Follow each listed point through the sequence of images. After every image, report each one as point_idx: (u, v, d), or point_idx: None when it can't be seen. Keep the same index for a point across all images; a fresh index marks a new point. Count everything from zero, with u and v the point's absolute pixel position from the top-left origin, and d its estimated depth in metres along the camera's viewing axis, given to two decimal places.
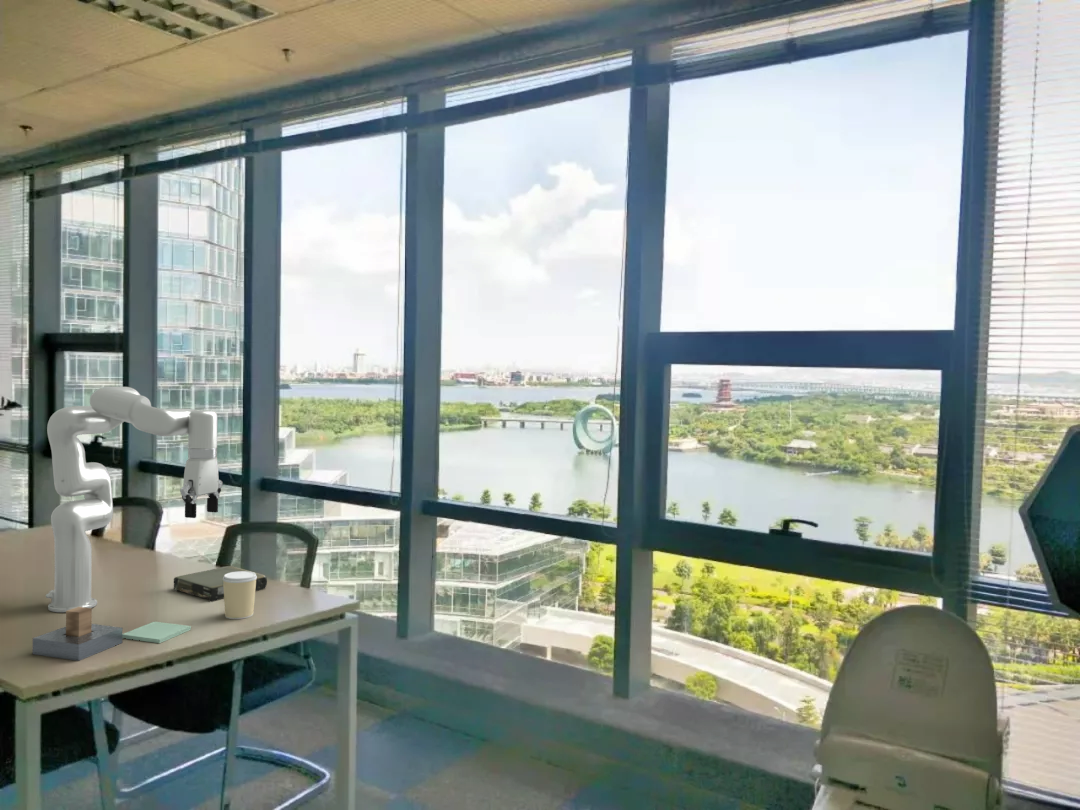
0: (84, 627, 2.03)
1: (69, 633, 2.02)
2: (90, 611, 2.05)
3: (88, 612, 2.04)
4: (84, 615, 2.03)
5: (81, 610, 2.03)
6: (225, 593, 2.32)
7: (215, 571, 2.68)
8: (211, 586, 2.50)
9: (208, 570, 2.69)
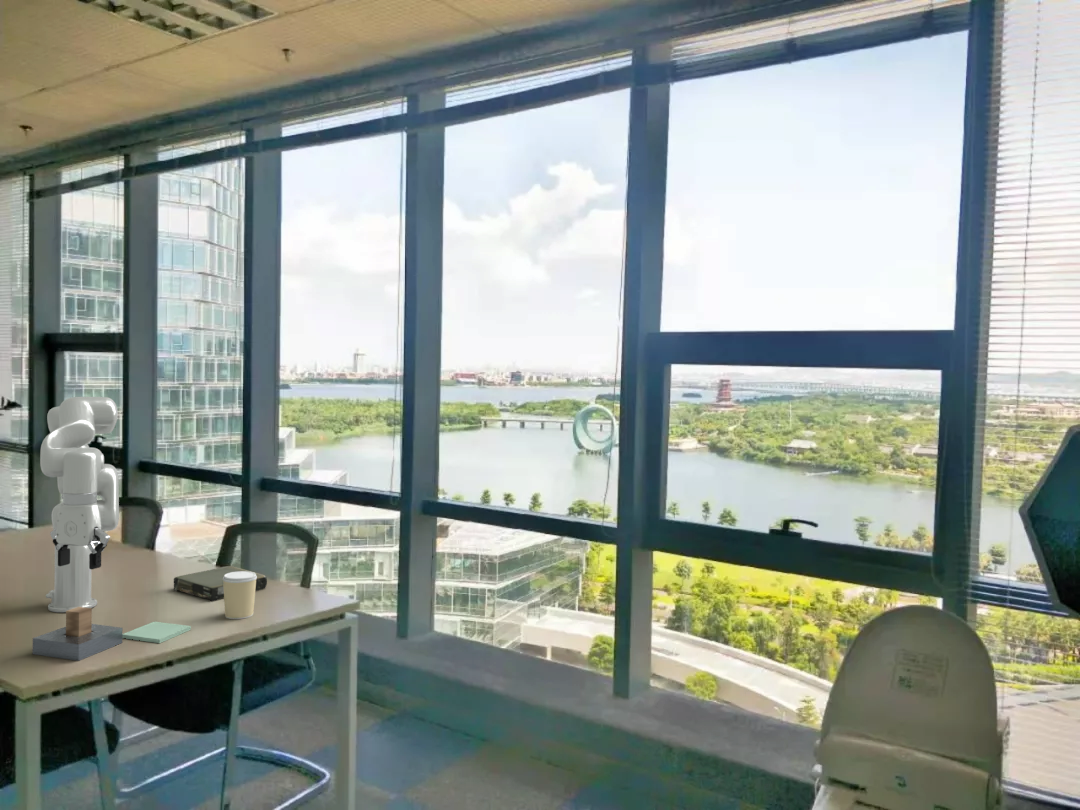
0: (84, 627, 2.03)
1: (69, 633, 2.02)
2: (90, 611, 2.05)
3: (88, 612, 2.04)
4: (84, 615, 2.03)
5: (81, 610, 2.03)
6: (225, 593, 2.32)
7: (215, 571, 2.68)
8: (211, 586, 2.50)
9: (208, 570, 2.69)
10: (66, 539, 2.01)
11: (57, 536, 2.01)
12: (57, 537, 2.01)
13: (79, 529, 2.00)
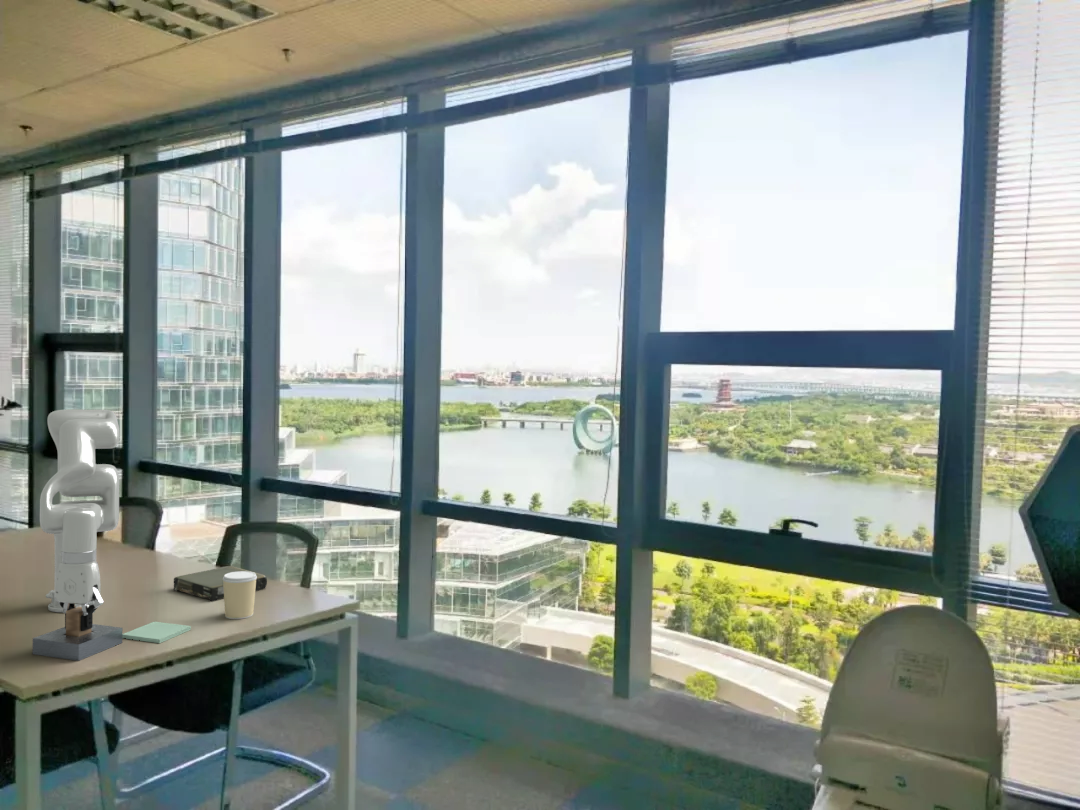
0: None
1: (69, 633, 2.02)
2: None
3: None
4: None
5: (81, 610, 2.03)
6: (225, 593, 2.32)
7: (215, 571, 2.68)
8: (211, 586, 2.50)
9: (208, 570, 2.69)
10: (65, 597, 2.01)
11: (56, 594, 2.02)
12: (56, 595, 2.02)
13: (78, 588, 2.00)
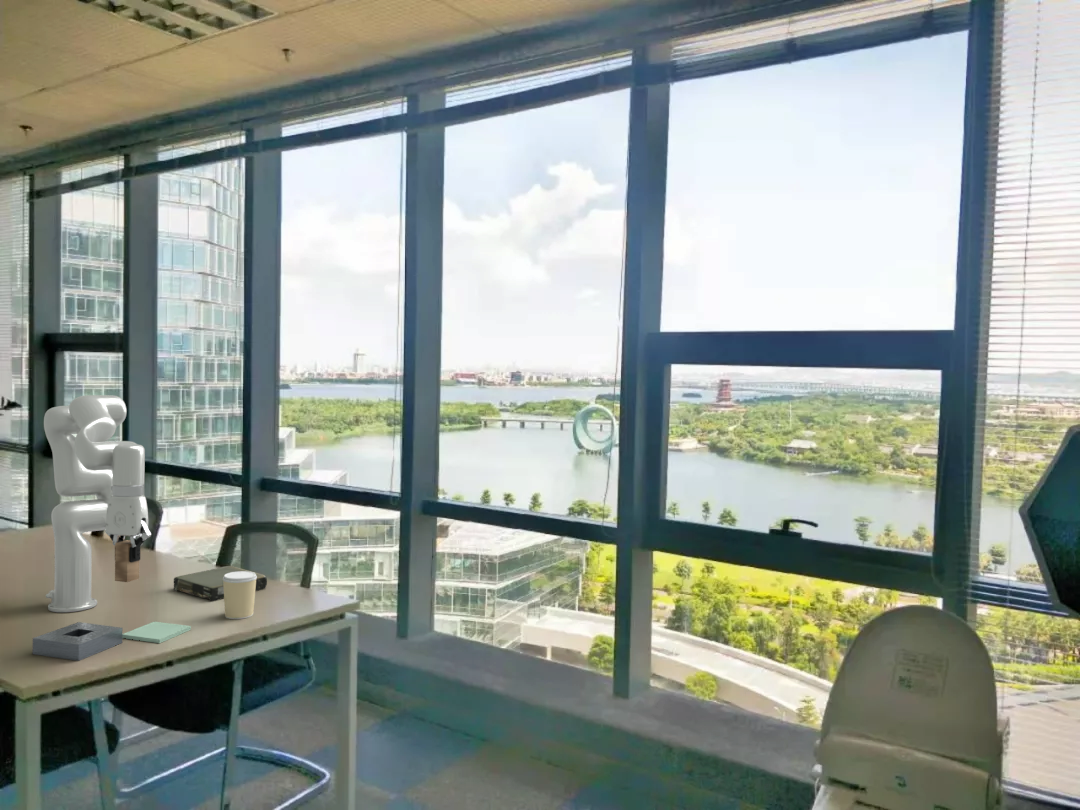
0: None
1: (118, 564, 2.09)
2: None
3: None
4: None
5: (129, 542, 2.10)
6: (225, 593, 2.32)
7: (215, 571, 2.68)
8: (211, 586, 2.50)
9: (208, 570, 2.69)
10: (115, 529, 2.08)
11: (107, 526, 2.09)
12: (107, 527, 2.09)
13: (127, 520, 2.07)
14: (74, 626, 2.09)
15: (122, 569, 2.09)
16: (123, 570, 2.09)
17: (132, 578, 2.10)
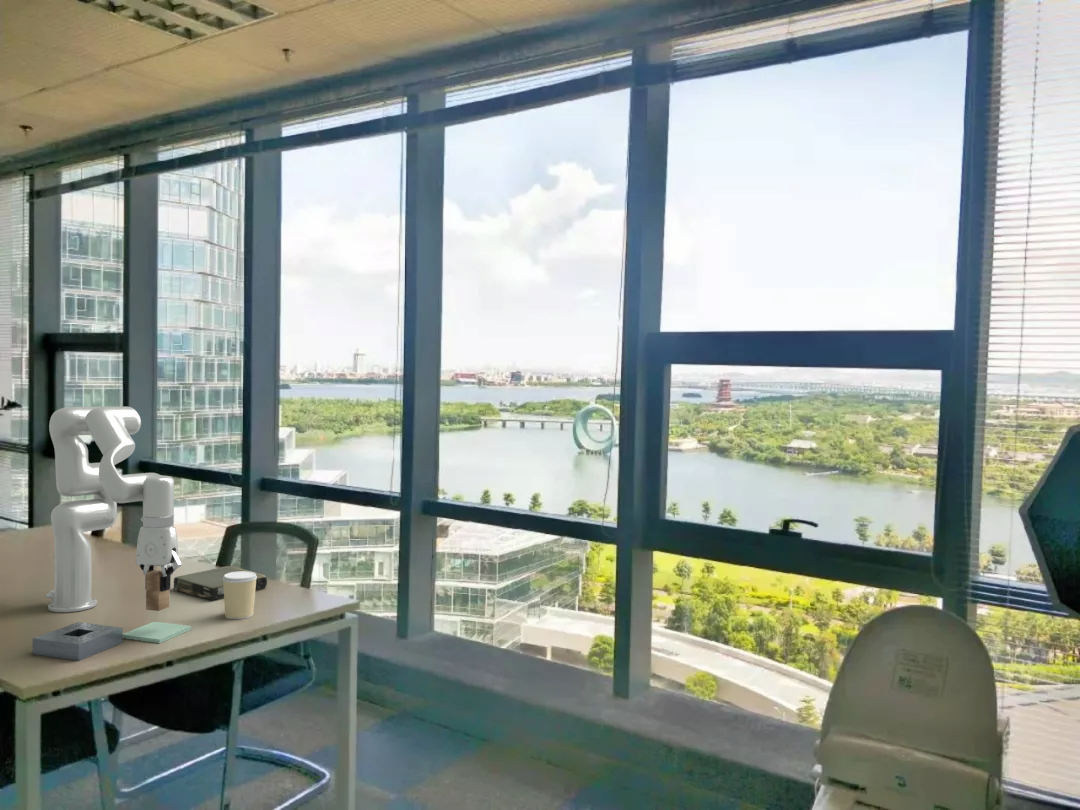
0: None
1: (150, 593, 2.15)
2: None
3: None
4: None
5: (160, 572, 2.16)
6: (225, 593, 2.32)
7: (215, 571, 2.68)
8: (211, 586, 2.50)
9: (208, 570, 2.69)
10: (146, 559, 2.14)
11: (137, 556, 2.15)
12: (137, 557, 2.15)
13: (159, 550, 2.13)
14: (74, 626, 2.09)
15: (154, 598, 2.14)
16: (155, 599, 2.14)
17: (163, 607, 2.16)
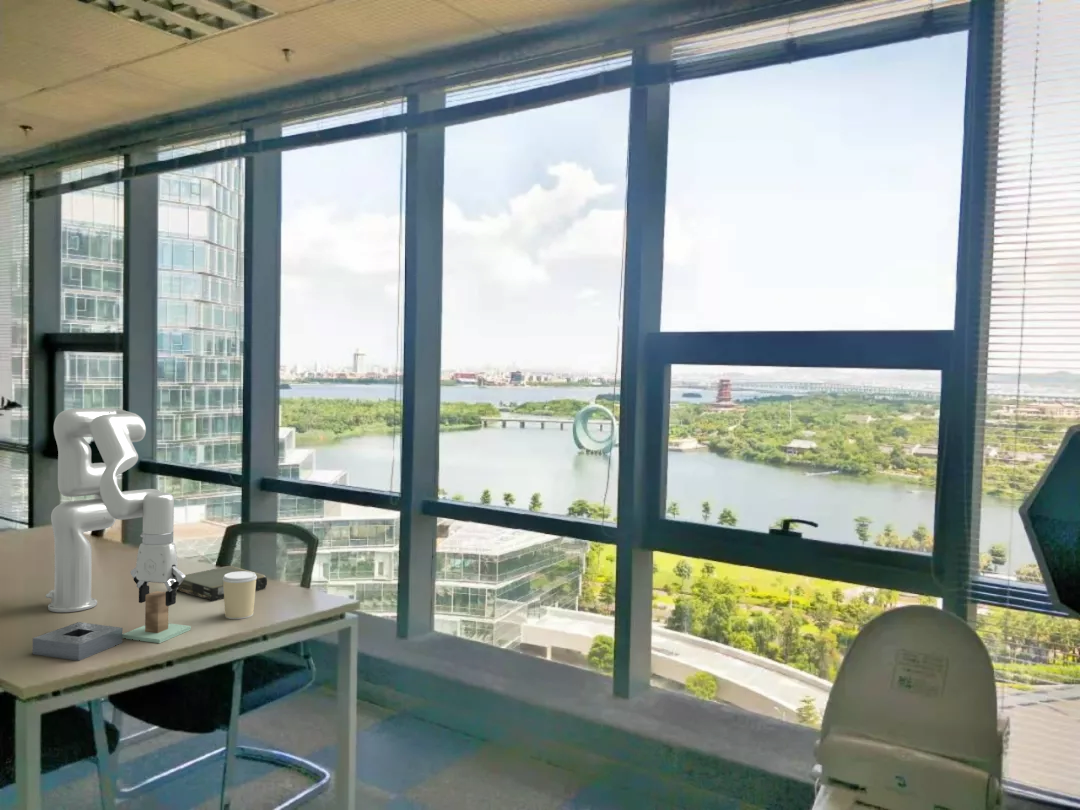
0: (162, 610, 2.16)
1: (149, 615, 2.15)
2: None
3: None
4: (163, 599, 2.16)
5: (159, 594, 2.16)
6: (225, 593, 2.32)
7: (215, 571, 2.68)
8: (211, 586, 2.50)
9: (208, 570, 2.69)
10: (146, 576, 2.14)
11: (137, 573, 2.15)
12: (137, 574, 2.15)
13: (158, 567, 2.13)
14: (74, 626, 2.09)
15: (153, 620, 2.15)
16: (154, 621, 2.15)
17: (162, 629, 2.16)
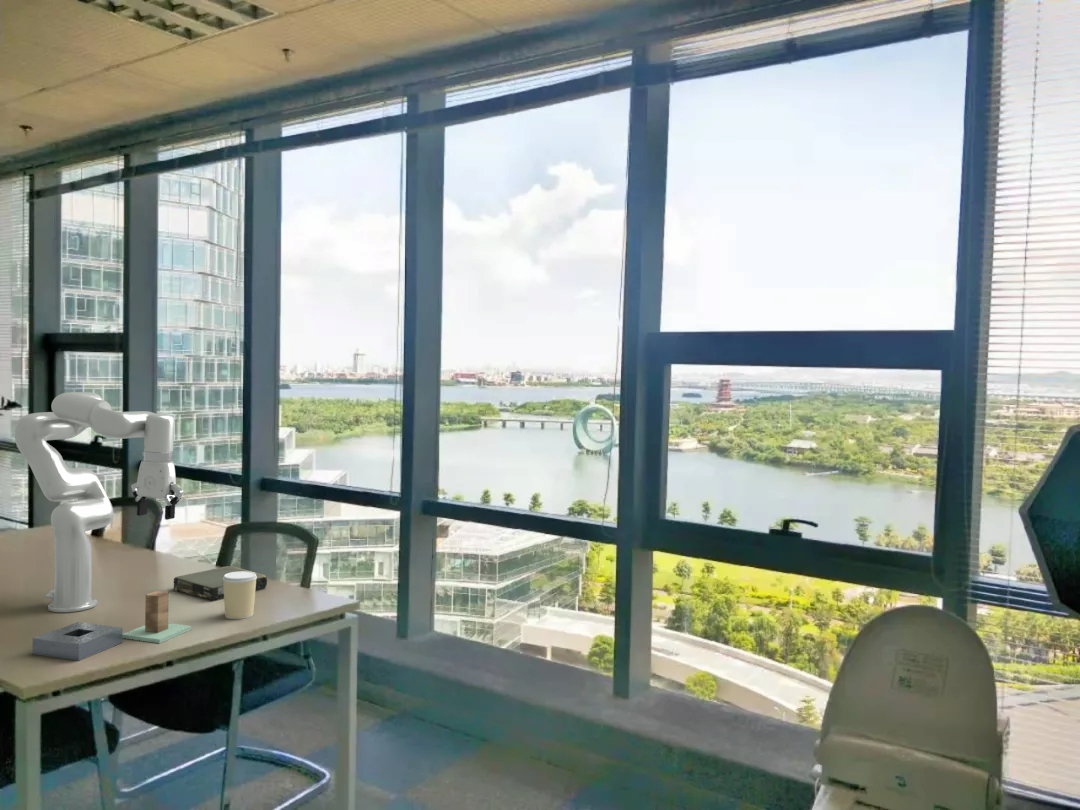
0: (162, 610, 2.16)
1: (149, 615, 2.15)
2: (167, 595, 2.18)
3: (166, 596, 2.17)
4: (163, 599, 2.16)
5: (159, 594, 2.16)
6: (225, 593, 2.32)
7: (215, 571, 2.68)
8: (211, 586, 2.50)
9: (208, 570, 2.69)
10: (145, 492, 2.26)
11: (137, 489, 2.27)
12: (137, 490, 2.27)
13: (157, 483, 2.25)
14: (74, 626, 2.09)
15: (153, 620, 2.15)
16: (154, 621, 2.15)
17: (162, 629, 2.16)
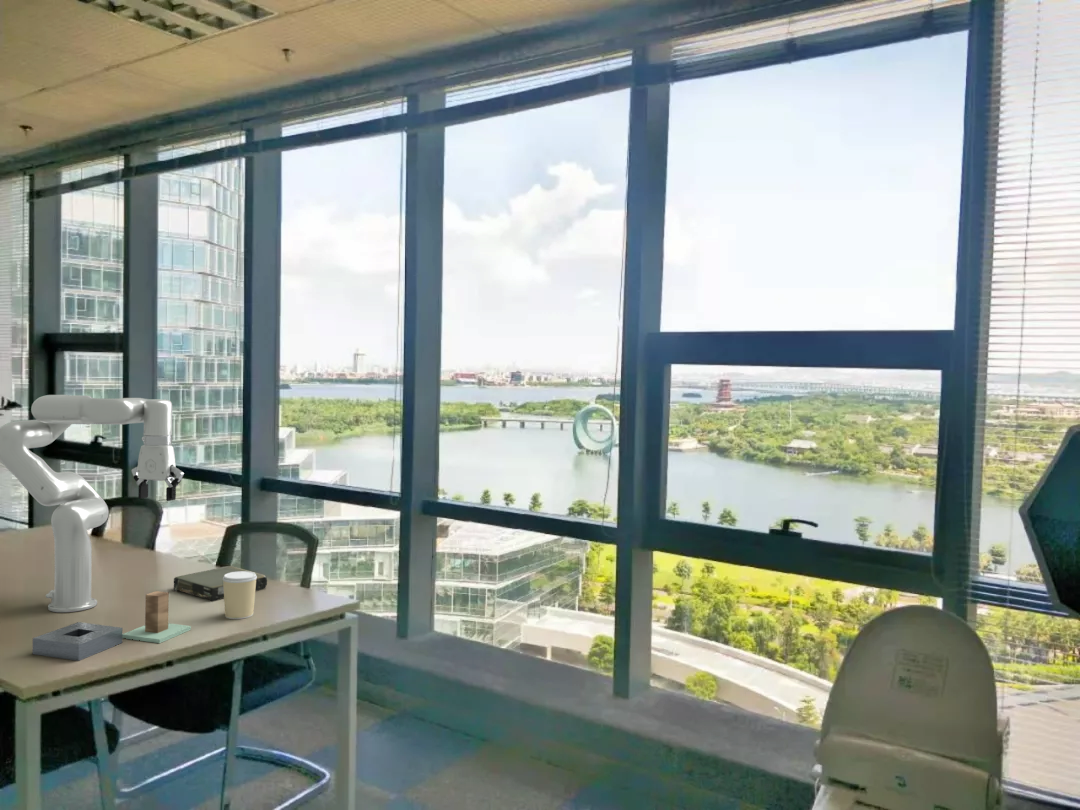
0: (162, 610, 2.16)
1: (149, 615, 2.15)
2: (167, 595, 2.18)
3: (166, 596, 2.17)
4: (163, 599, 2.16)
5: (159, 594, 2.16)
6: (225, 593, 2.32)
7: (215, 571, 2.68)
8: (211, 586, 2.50)
9: (208, 570, 2.69)
10: (146, 475, 2.33)
11: (138, 472, 2.34)
12: (138, 473, 2.34)
13: (158, 466, 2.32)
14: (74, 626, 2.09)
15: (153, 620, 2.15)
16: (154, 621, 2.15)
17: (162, 629, 2.16)
